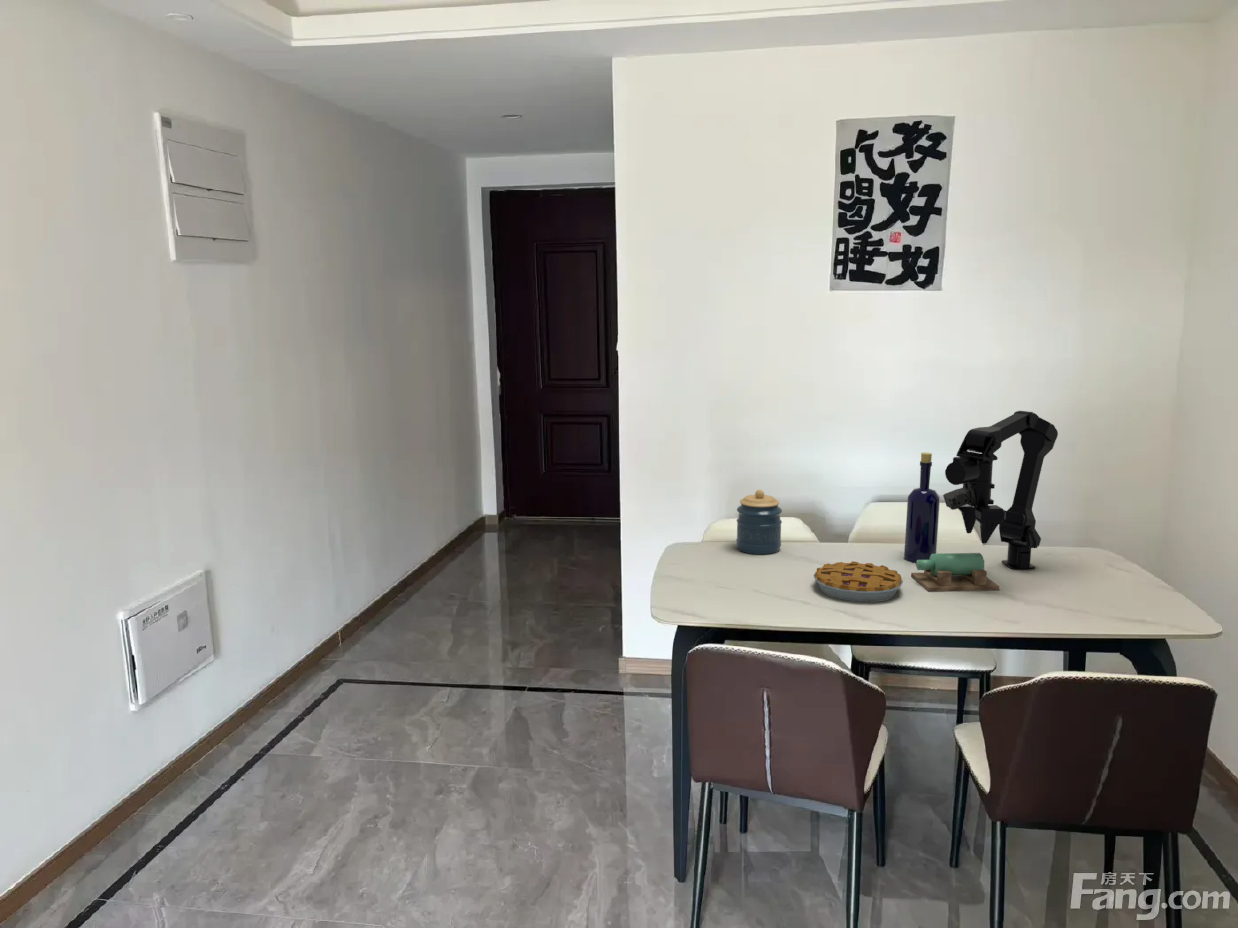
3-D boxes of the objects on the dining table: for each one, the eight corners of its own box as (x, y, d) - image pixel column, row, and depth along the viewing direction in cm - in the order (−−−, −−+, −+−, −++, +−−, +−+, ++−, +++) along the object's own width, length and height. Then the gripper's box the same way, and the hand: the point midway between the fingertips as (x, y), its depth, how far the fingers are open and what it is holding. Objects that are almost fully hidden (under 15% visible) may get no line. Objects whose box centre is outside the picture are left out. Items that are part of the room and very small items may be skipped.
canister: (787, 546, 261) (789, 488, 258) (770, 557, 250) (772, 496, 247) (747, 540, 268) (748, 483, 265) (728, 550, 257) (729, 491, 254)
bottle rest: (928, 591, 221) (929, 574, 220) (911, 576, 233) (912, 559, 232) (999, 589, 222) (1000, 572, 221) (978, 574, 234) (979, 558, 233)
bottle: (942, 563, 243) (949, 456, 238) (908, 563, 244) (914, 456, 238) (931, 554, 252) (937, 450, 247) (898, 554, 253) (904, 450, 247)
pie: (900, 579, 231) (901, 561, 230) (904, 608, 210) (905, 588, 210) (815, 573, 237) (815, 555, 236) (810, 600, 216) (811, 581, 215)
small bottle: (975, 573, 230) (974, 552, 230) (984, 575, 224) (984, 553, 225) (914, 574, 230) (913, 553, 230) (922, 576, 224) (921, 554, 224)
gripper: (934, 472, 234) (931, 529, 237) (963, 488, 216) (960, 550, 219) (975, 470, 234) (972, 527, 237) (1008, 487, 216) (1004, 548, 219)
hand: (976, 538), depth 228 cm, fingers open, 9 cm apart
